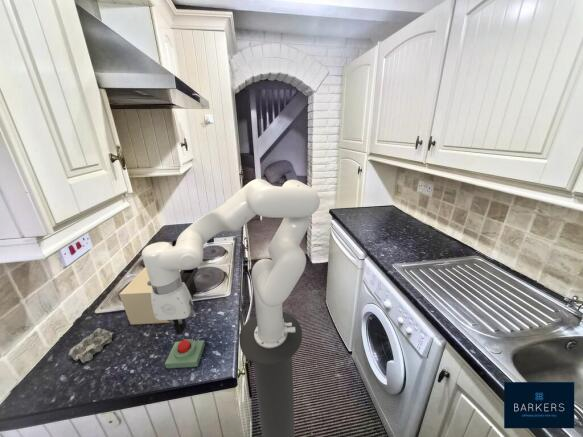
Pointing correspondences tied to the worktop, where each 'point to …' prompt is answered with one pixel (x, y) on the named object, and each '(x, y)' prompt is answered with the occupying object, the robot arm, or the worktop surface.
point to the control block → (185, 355)
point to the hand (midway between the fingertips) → (181, 330)
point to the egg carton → (91, 345)
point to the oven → (139, 300)
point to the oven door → (189, 279)
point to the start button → (184, 346)
